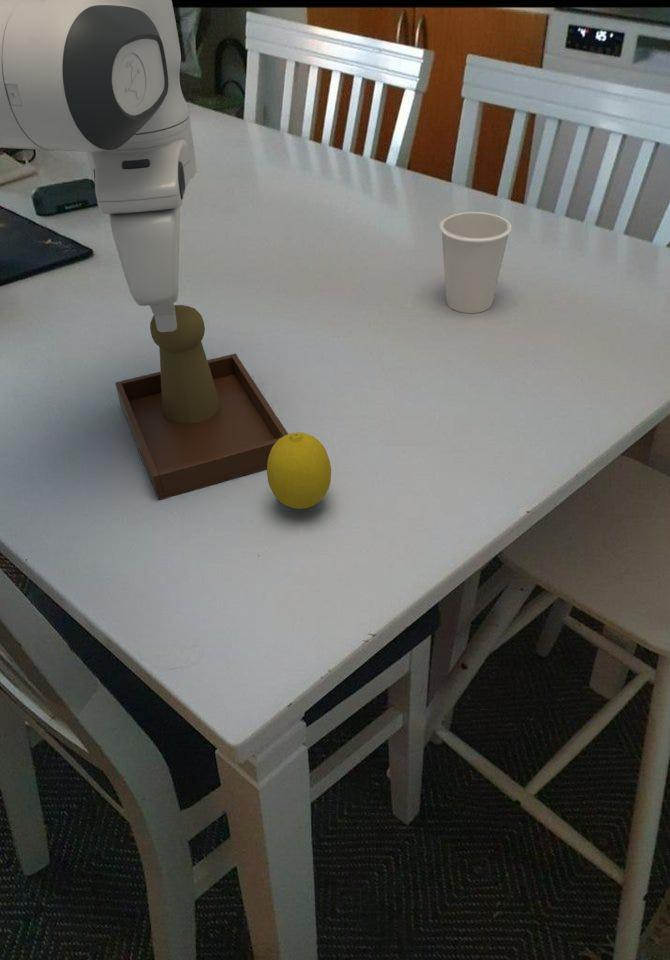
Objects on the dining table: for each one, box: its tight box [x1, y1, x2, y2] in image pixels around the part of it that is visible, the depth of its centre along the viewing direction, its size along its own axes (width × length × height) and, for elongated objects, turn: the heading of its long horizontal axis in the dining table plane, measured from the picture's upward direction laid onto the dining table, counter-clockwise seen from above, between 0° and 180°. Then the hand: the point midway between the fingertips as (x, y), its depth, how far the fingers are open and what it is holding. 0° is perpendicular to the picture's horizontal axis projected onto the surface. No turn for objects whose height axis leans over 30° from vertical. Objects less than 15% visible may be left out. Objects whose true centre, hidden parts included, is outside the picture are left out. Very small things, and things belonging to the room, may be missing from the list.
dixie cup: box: [439, 211, 513, 314], centre depth 98 cm, size 8×8×10 cm
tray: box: [114, 353, 289, 501], centre depth 81 cm, size 13×17×3 cm
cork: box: [149, 304, 221, 424], centre depth 81 cm, size 6×6×11 cm
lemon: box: [266, 431, 332, 510], centre depth 70 cm, size 6×6×8 cm
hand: (168, 304), depth 77 cm, fingers open, 8 cm apart
